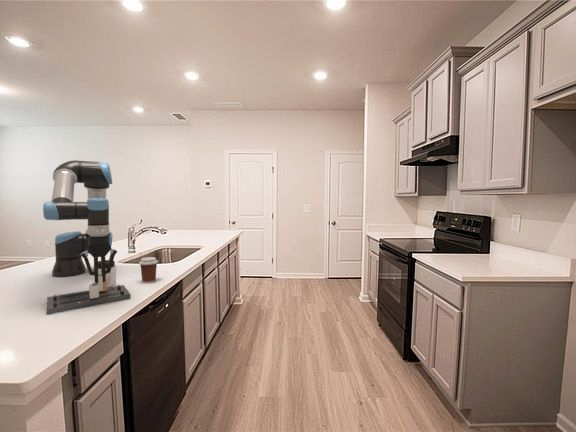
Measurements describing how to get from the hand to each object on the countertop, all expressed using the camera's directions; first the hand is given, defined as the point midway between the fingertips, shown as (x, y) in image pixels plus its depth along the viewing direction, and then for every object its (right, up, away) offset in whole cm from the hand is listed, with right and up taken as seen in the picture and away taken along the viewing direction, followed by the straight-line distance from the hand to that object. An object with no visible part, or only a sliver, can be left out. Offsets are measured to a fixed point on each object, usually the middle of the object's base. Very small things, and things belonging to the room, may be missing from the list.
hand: (100, 290), depth 121 cm
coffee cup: (+6, -3, +30) cm, 31 cm away
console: (-5, -5, +1) cm, 7 cm away
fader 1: (-2, -2, -1) cm, 3 cm away
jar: (-11, -3, +21) cm, 24 cm away
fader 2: (-4, -2, +7) cm, 8 cm away
